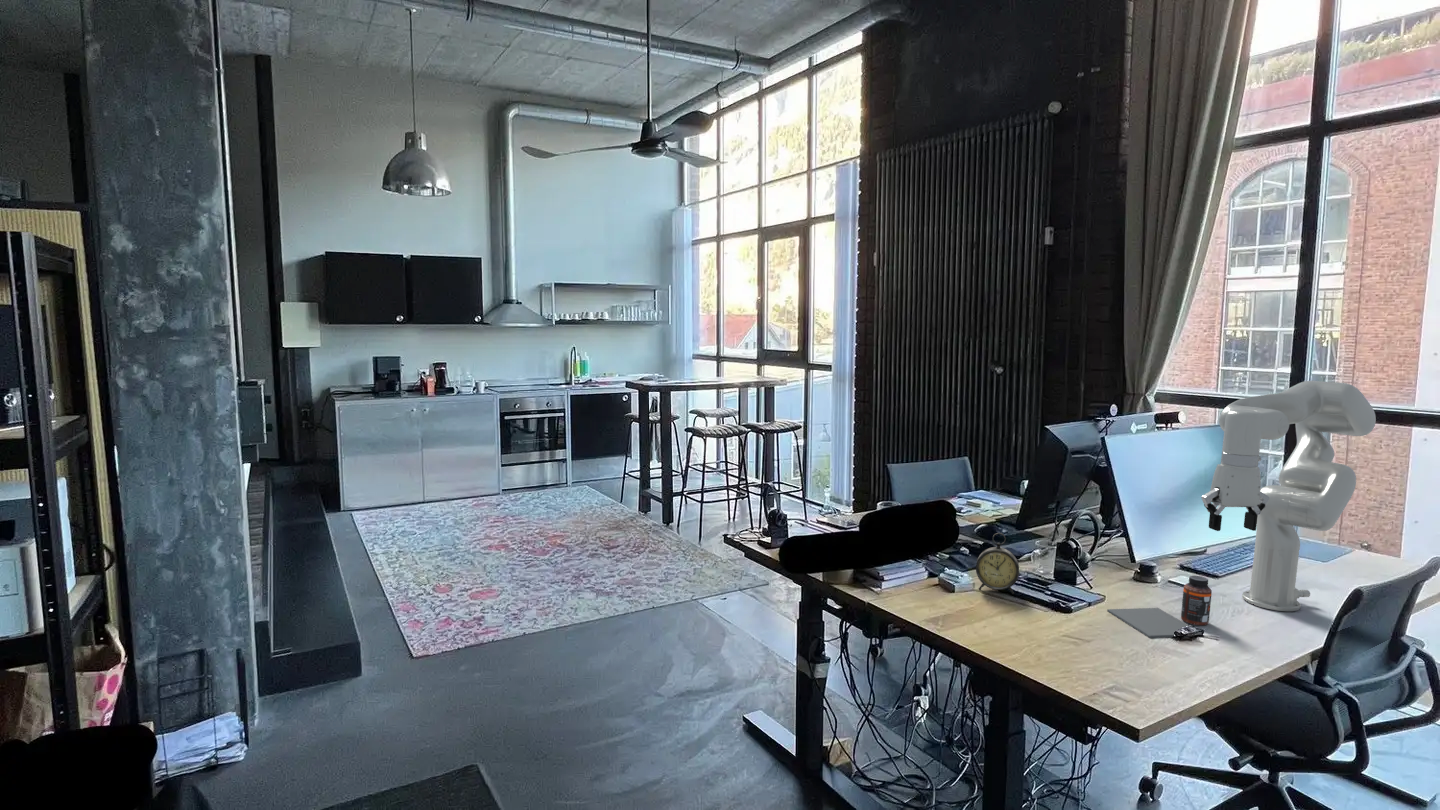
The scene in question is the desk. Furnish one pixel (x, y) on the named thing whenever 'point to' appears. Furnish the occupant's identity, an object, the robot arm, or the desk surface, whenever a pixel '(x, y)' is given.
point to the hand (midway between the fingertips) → (1232, 529)
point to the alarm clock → (997, 568)
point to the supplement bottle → (1196, 601)
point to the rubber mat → (1149, 621)
